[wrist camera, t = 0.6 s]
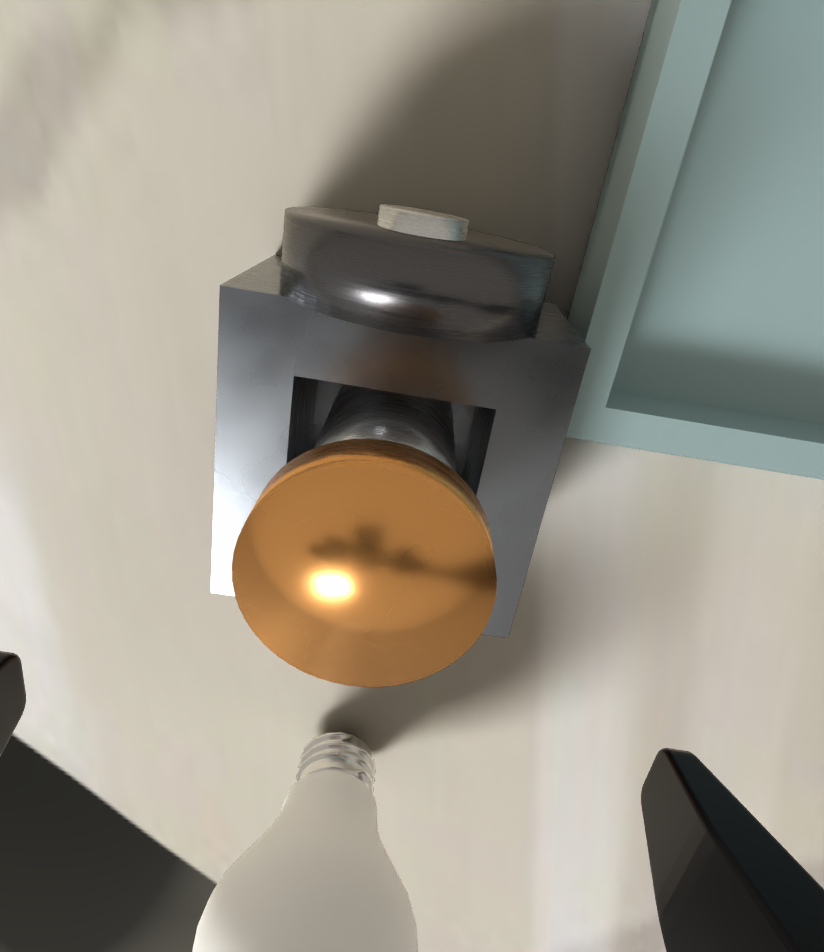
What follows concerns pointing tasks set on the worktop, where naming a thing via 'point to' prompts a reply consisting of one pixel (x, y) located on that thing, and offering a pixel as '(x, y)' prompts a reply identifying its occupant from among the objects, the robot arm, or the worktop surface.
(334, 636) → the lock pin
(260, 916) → the light bulb
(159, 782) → the worktop surface
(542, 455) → the block
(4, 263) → the worktop surface
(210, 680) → the worktop surface
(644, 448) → the tray
